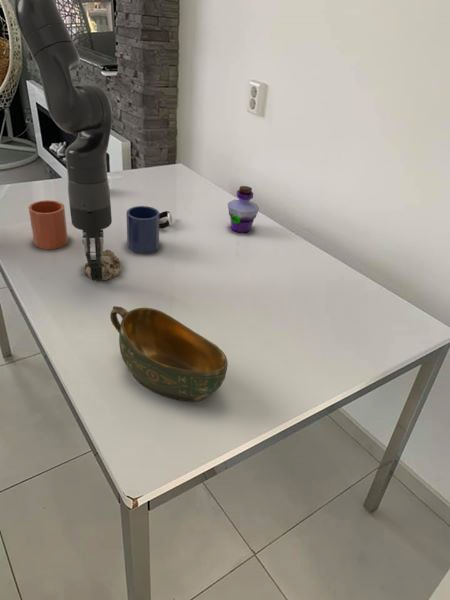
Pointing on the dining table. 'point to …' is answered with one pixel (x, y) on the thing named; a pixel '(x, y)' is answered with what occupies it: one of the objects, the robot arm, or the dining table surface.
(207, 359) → the painted kuksa bowl
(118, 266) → the mineral rock
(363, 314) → the dining table surface
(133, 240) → the cup right
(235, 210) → the potion bottle
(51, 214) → the cup left
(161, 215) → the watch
